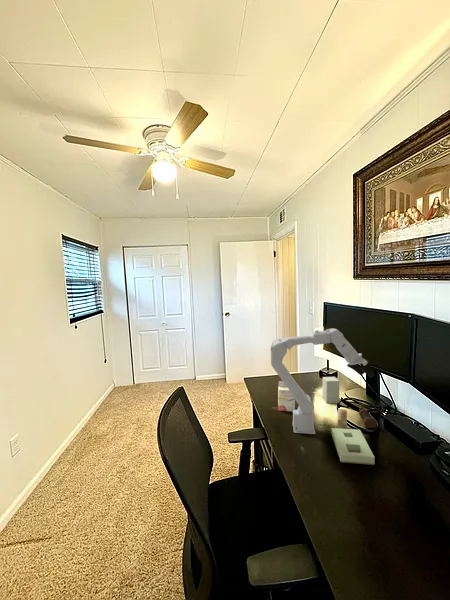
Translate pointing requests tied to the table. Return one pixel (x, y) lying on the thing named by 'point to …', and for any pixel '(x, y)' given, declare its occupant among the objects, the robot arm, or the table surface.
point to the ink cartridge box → (285, 398)
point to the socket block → (352, 446)
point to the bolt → (367, 418)
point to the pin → (342, 419)
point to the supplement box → (331, 389)
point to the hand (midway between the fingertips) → (367, 375)
